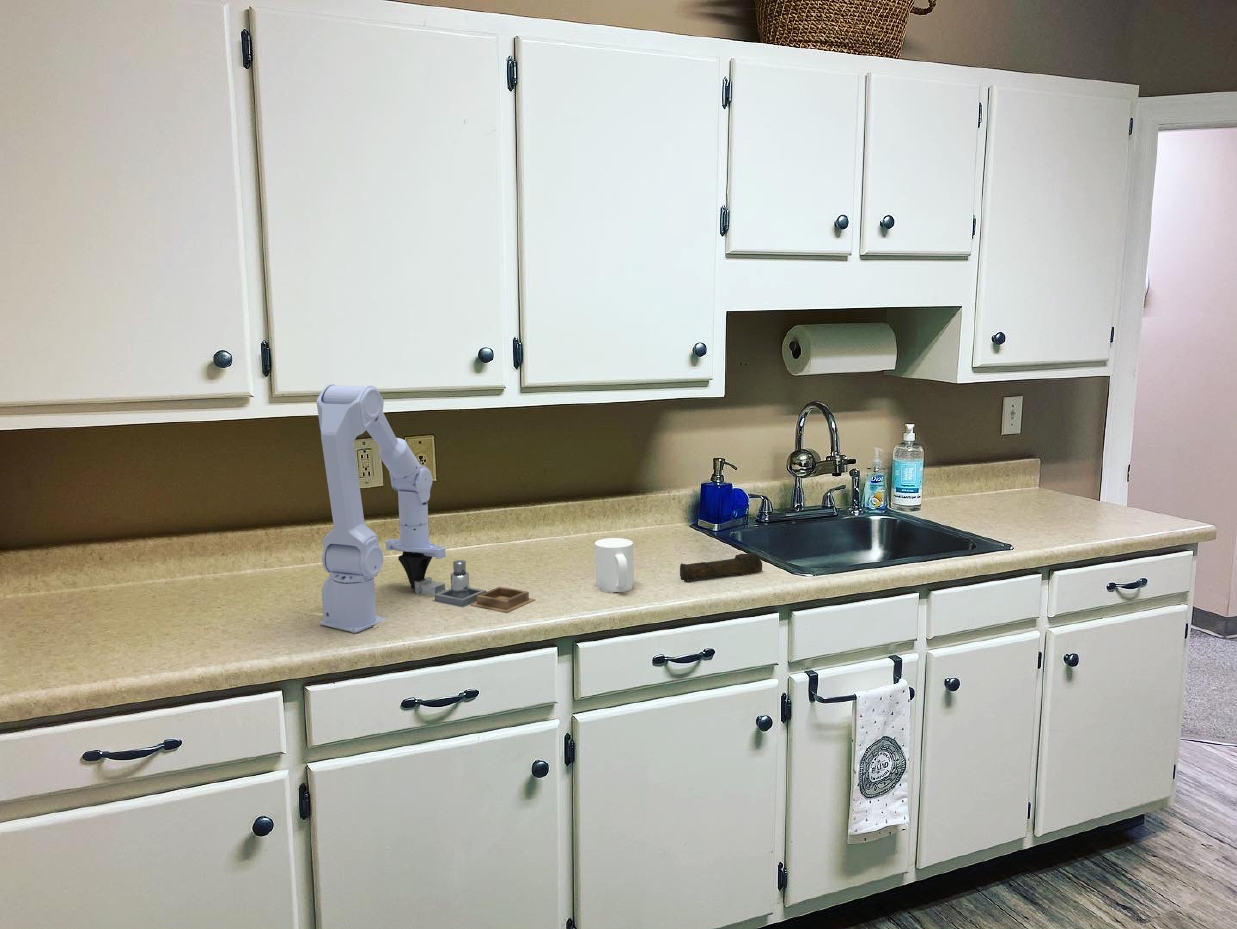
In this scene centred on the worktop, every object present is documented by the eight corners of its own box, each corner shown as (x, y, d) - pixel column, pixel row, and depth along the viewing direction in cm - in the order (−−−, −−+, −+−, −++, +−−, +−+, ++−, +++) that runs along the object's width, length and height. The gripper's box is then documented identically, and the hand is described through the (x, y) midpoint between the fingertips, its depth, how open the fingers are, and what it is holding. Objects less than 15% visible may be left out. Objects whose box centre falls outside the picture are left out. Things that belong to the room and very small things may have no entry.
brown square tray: (470, 608, 185) (469, 596, 185) (499, 596, 193) (498, 584, 192) (507, 616, 181) (506, 603, 180) (535, 603, 188) (535, 591, 188)
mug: (589, 538, 201) (625, 535, 203) (589, 581, 202) (626, 578, 205) (604, 553, 189) (643, 549, 192) (605, 598, 191) (643, 594, 193)
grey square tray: (431, 603, 188) (431, 594, 188) (458, 593, 195) (458, 584, 195) (463, 610, 184) (462, 601, 184) (489, 599, 191) (489, 590, 191)
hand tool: (685, 584, 201) (685, 563, 200) (678, 579, 204) (678, 558, 203) (767, 576, 206) (767, 555, 205) (759, 571, 210) (759, 550, 209)
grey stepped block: (415, 595, 193) (414, 581, 193) (428, 590, 197) (427, 576, 196) (433, 599, 191) (433, 585, 190) (446, 594, 194) (446, 580, 194)
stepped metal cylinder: (447, 599, 189) (446, 562, 188) (459, 594, 192) (458, 558, 191) (461, 602, 187) (460, 565, 186) (473, 597, 190) (472, 561, 189)
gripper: (454, 523, 193) (457, 588, 195) (401, 515, 200) (404, 577, 203) (430, 530, 187) (433, 597, 189) (376, 522, 194) (380, 586, 197)
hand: (417, 587), depth 196 cm, fingers closed
